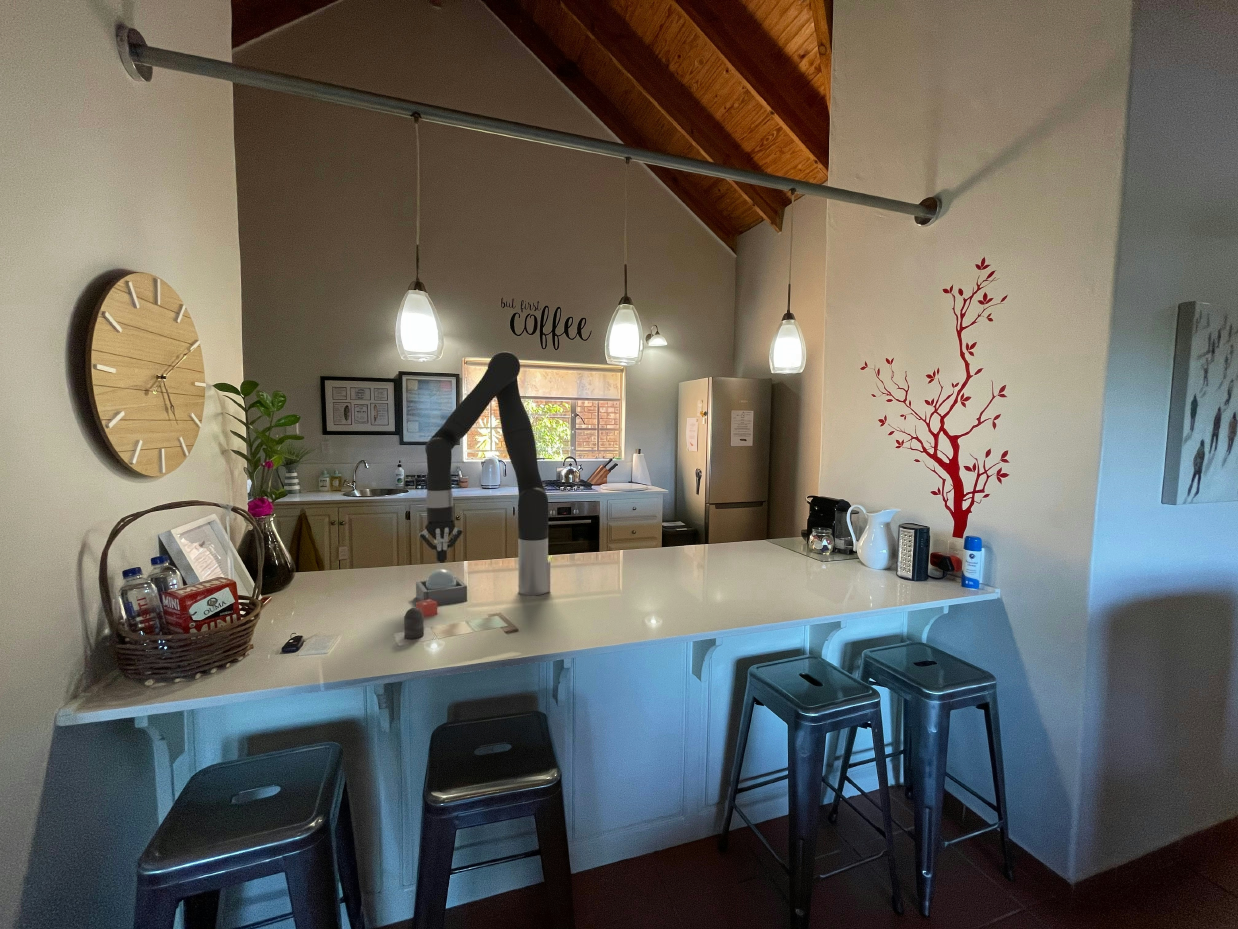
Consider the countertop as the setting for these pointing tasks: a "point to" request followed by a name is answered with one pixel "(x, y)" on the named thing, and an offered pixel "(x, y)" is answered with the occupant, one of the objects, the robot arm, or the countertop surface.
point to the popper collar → (442, 593)
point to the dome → (440, 580)
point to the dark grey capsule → (413, 624)
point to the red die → (427, 607)
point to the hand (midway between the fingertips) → (441, 562)
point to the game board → (462, 628)
